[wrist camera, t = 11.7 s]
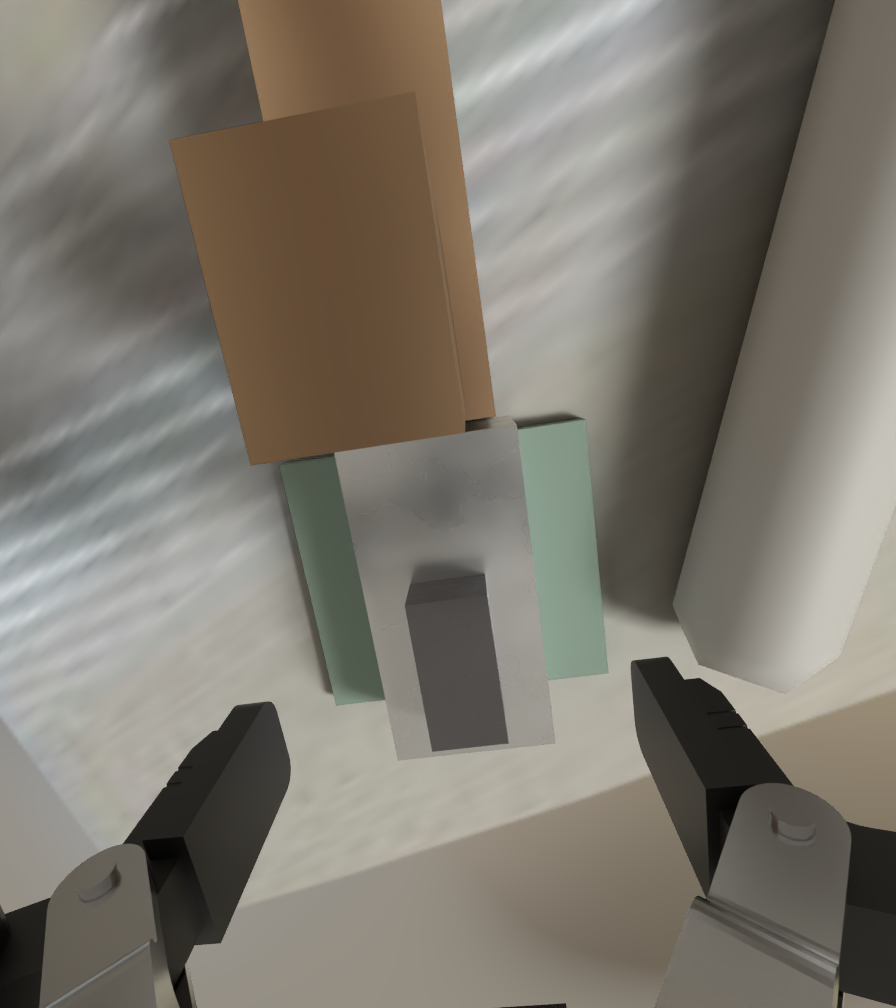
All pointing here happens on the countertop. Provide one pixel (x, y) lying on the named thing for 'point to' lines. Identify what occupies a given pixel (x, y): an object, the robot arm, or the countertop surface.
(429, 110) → the body
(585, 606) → the mat
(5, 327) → the countertop surface
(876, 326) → the tube
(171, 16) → the countertop surface
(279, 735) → the robot arm
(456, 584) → the lever cap
